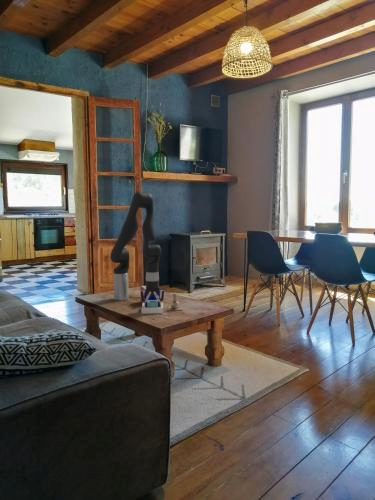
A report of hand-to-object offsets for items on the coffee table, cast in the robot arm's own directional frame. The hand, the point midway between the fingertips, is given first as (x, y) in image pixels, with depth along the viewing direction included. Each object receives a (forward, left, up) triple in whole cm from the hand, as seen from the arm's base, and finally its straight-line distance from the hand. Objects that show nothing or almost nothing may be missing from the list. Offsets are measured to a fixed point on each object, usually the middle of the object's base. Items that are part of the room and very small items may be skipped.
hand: (152, 307), depth 225 cm
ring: (0, 0, +1) cm, 1 cm away
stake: (+13, +3, -2) cm, 13 cm away
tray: (0, 0, -2) cm, 2 cm away
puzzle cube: (-2, +19, -2) cm, 19 cm away
